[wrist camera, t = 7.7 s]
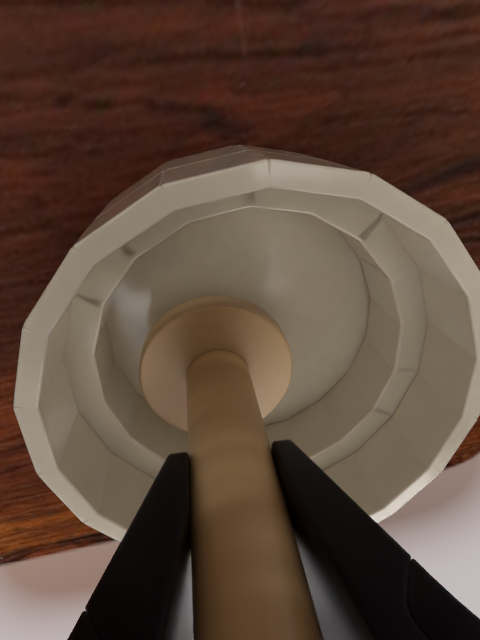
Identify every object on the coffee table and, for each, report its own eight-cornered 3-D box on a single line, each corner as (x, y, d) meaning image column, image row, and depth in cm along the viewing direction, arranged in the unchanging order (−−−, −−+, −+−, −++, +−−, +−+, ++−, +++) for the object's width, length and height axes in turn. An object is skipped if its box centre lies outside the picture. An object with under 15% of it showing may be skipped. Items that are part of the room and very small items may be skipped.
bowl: (418, 134, 12) (557, 143, 8) (376, 427, 17) (445, 535, 13) (29, 152, 11) (-71, 176, 7) (106, 461, 16) (78, 593, 11)
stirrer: (288, 287, 12) (812, 1099, 2) (285, 411, 14) (544, 1120, 4) (130, 301, 11) (-170, 1436, 2) (151, 426, 13) (77, 1268, 4)
